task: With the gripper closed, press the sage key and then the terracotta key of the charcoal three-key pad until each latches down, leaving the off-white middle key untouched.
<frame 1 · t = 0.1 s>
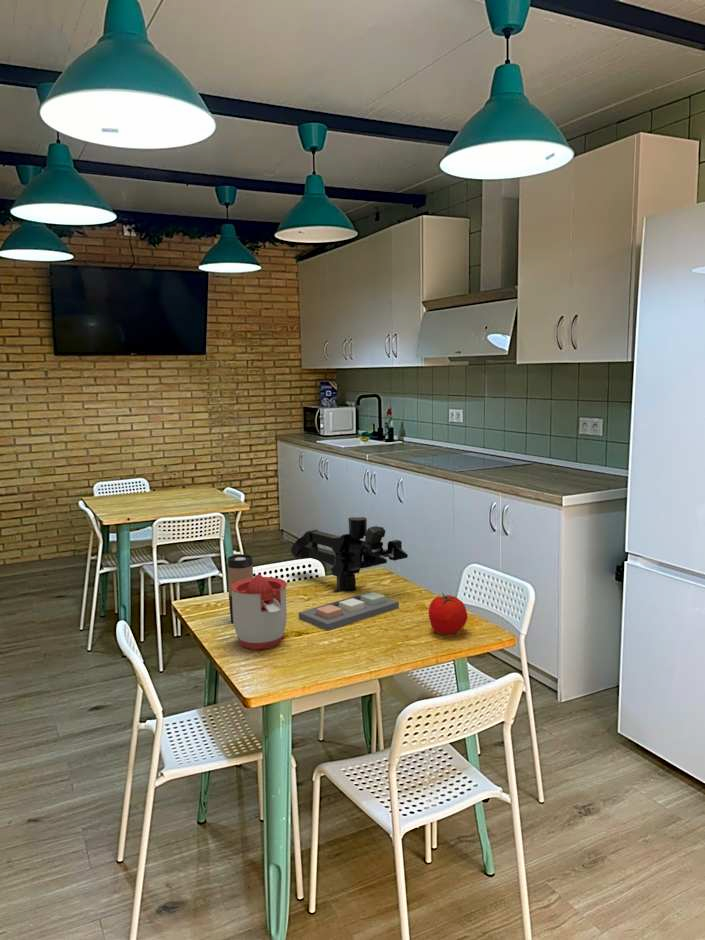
hand: (397, 558, 224), 17 cm above the table, tool horizontal, fingers open, 9 cm apart
travel mug: (242, 621, 218), on the table
citrus juicer: (262, 644, 199), on the table
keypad: (349, 616, 220), on the table
key offwhite: (351, 605, 219), point 4 cm above the table, slide at 0.0 cm
key terracotta: (329, 612, 213), point 4 cm above the table, slide at 0.0 cm
tomato: (447, 633, 205), on the table
key sage: (373, 599, 225), point 4 cm above the table, slide at 0.0 cm
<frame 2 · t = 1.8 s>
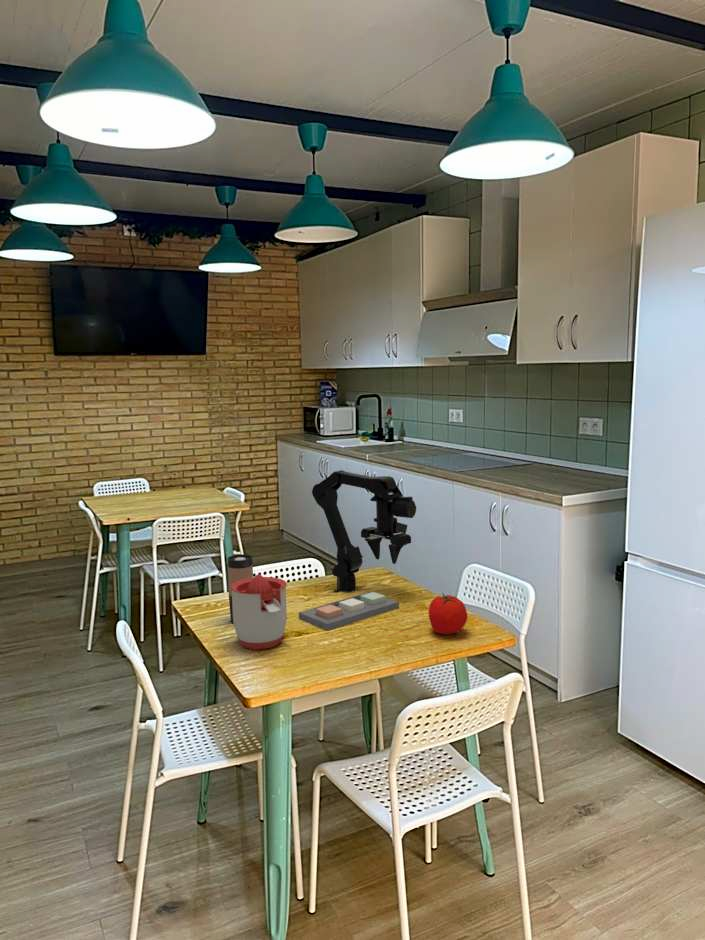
hand: (385, 561, 234), 13 cm above the table, tool pointing down, fingers open, 8 cm apart
nothing on the table moved.
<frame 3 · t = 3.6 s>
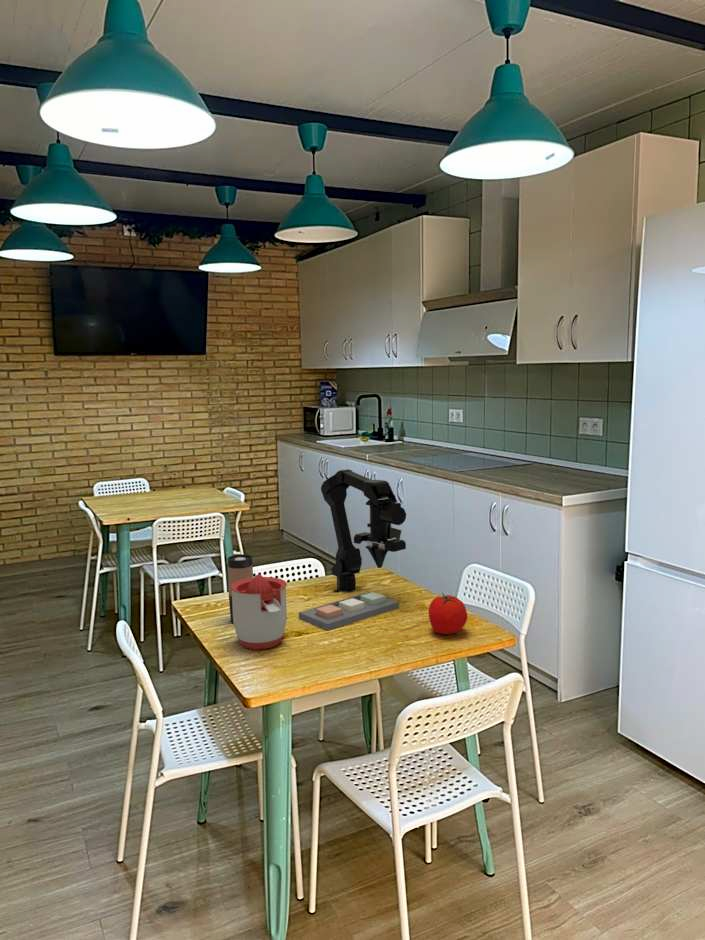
hand: (379, 567, 228), 13 cm above the table, tool pointing down, fingers closed
nothing on the table moved.
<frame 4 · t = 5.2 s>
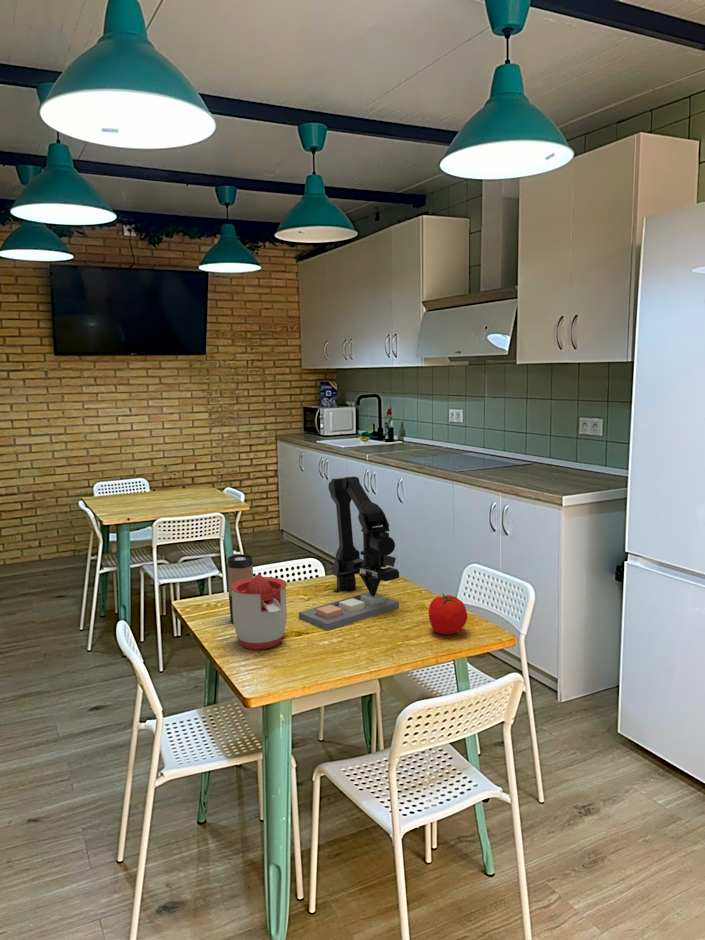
hand: (373, 595, 225), 5 cm above the table, tool pointing down, fingers closed, pressing on key sage
key sage: (373, 599, 225), point 4 cm above the table, slide at 0.0 cm, touching gripper
everything else where it was.
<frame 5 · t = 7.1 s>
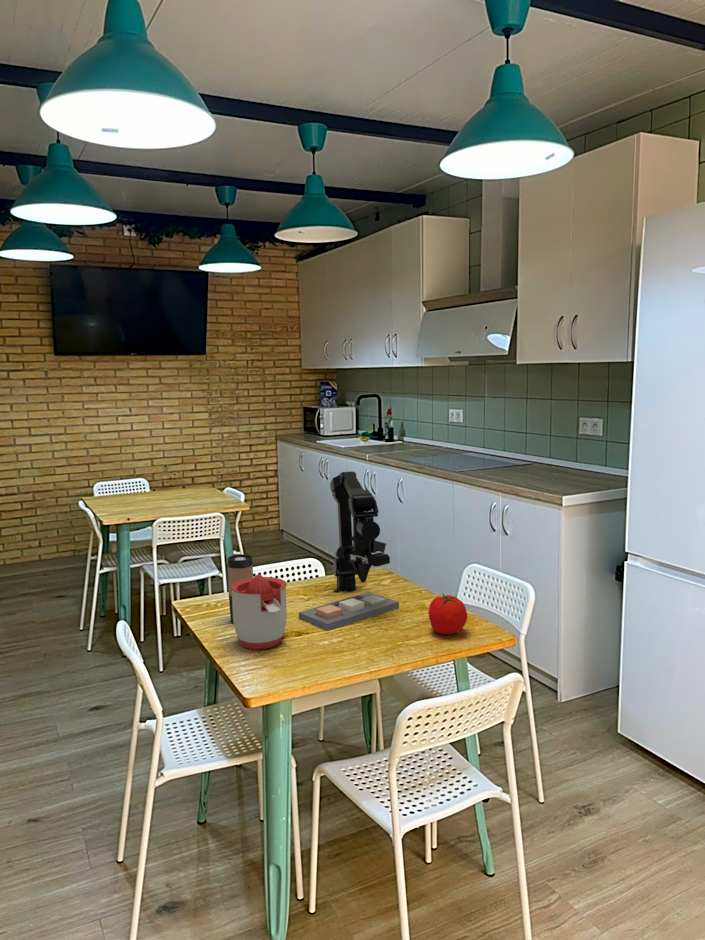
hand: (363, 582, 221), 10 cm above the table, tool pointing down, fingers closed
key sage: (373, 602, 225), point 3 cm above the table, slide at 1.0 cm
everything else where it was.
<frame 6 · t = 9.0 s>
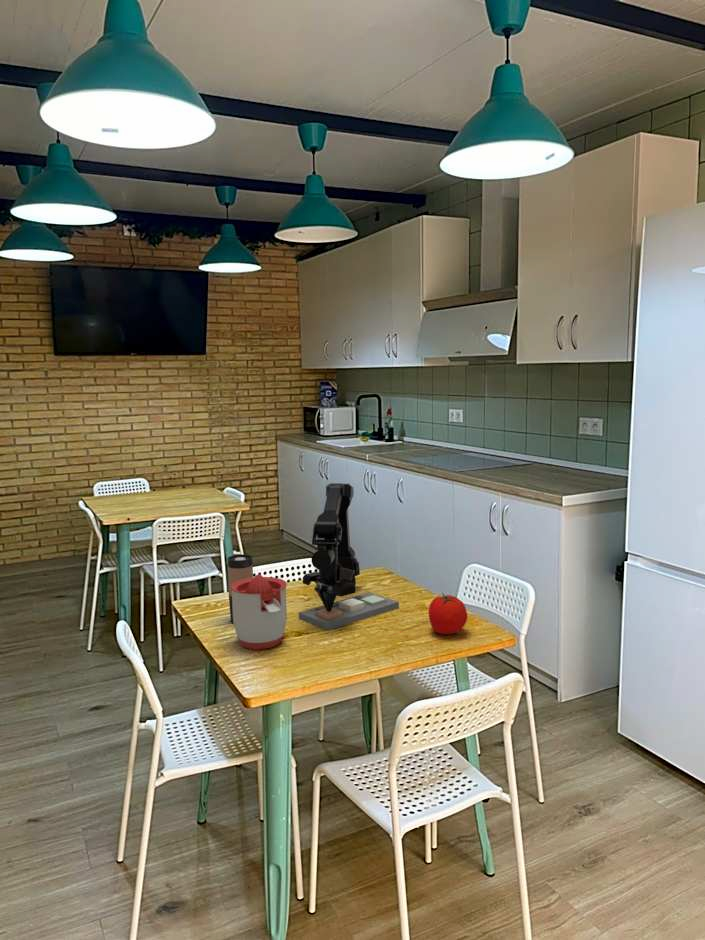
hand: (329, 611, 213), 4 cm above the table, tool pointing down, fingers closed, pressing on key terracotta
key terracotta: (329, 615, 213), point 3 cm above the table, slide at 0.8 cm, touching gripper
everything else where it was.
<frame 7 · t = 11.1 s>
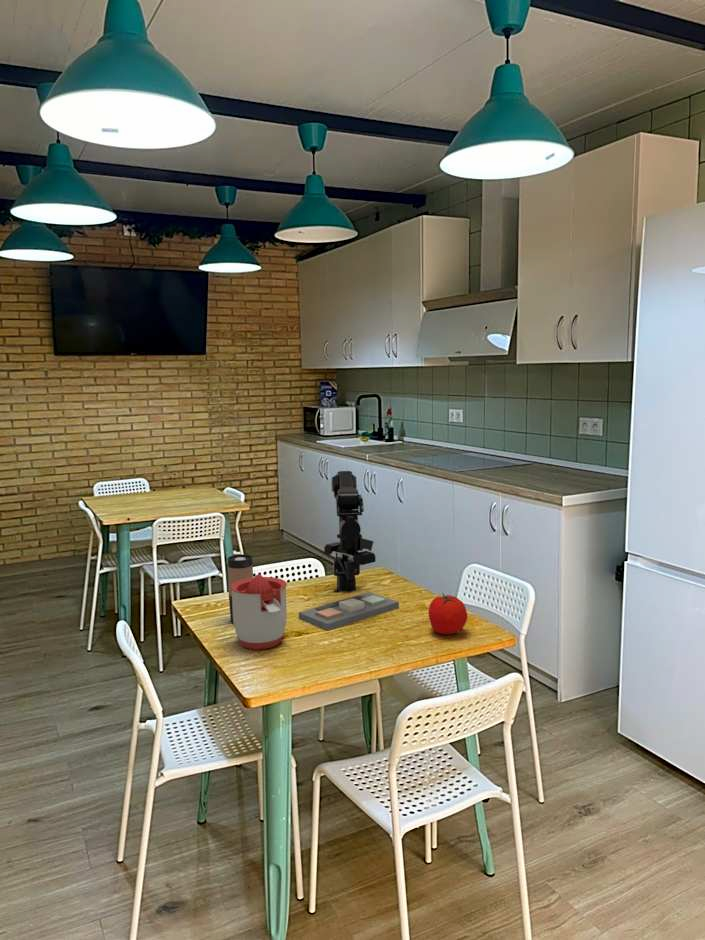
hand: (349, 579, 222), 11 cm above the table, tool pointing down, fingers closed
key terracotta: (329, 615, 213), point 3 cm above the table, slide at 1.0 cm
everything else where it was.
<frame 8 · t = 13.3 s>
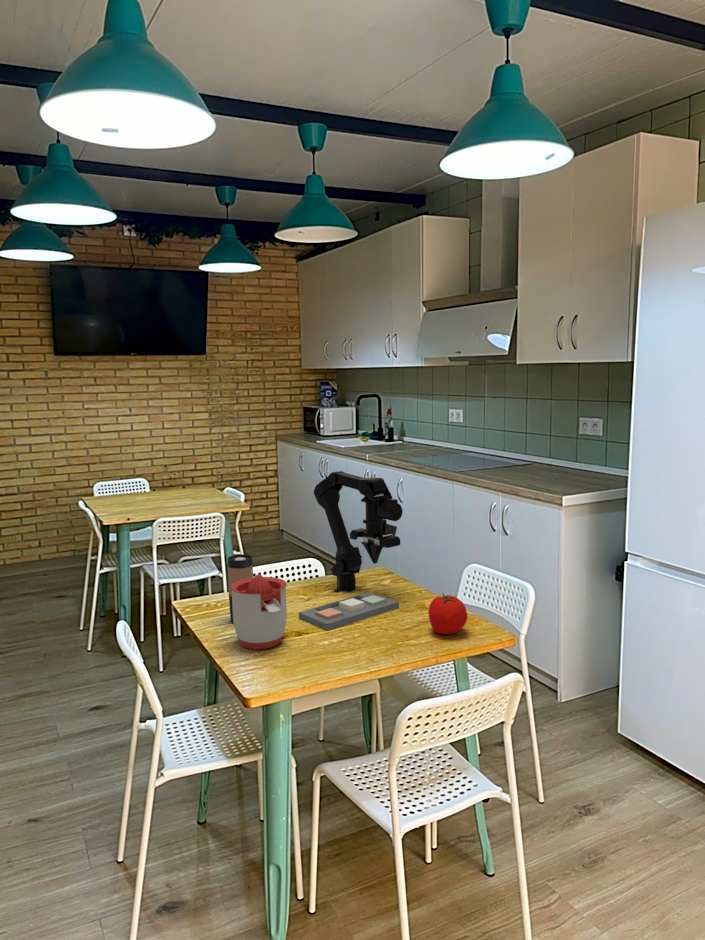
hand: (375, 563, 232), 13 cm above the table, tool pointing down, fingers closed
nothing on the table moved.
at the end: key sage slide at 1.0 cm; key terracotta slide at 1.0 cm; key offwhite slide at 0.0 cm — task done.
